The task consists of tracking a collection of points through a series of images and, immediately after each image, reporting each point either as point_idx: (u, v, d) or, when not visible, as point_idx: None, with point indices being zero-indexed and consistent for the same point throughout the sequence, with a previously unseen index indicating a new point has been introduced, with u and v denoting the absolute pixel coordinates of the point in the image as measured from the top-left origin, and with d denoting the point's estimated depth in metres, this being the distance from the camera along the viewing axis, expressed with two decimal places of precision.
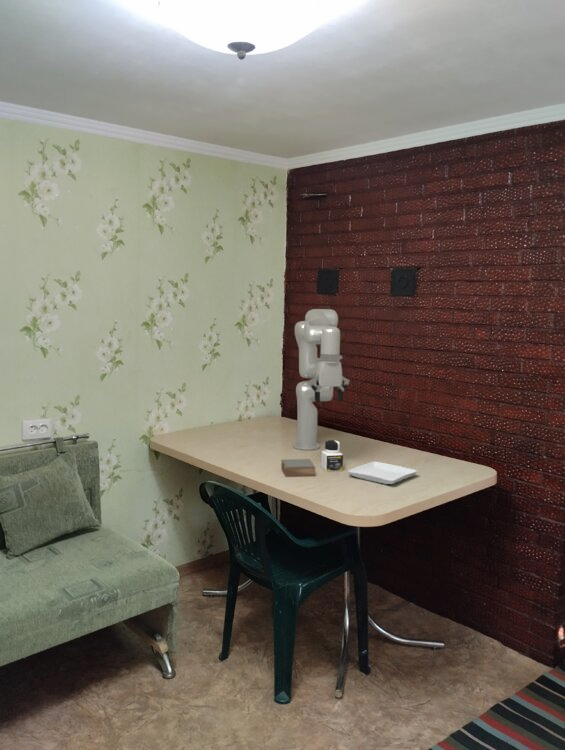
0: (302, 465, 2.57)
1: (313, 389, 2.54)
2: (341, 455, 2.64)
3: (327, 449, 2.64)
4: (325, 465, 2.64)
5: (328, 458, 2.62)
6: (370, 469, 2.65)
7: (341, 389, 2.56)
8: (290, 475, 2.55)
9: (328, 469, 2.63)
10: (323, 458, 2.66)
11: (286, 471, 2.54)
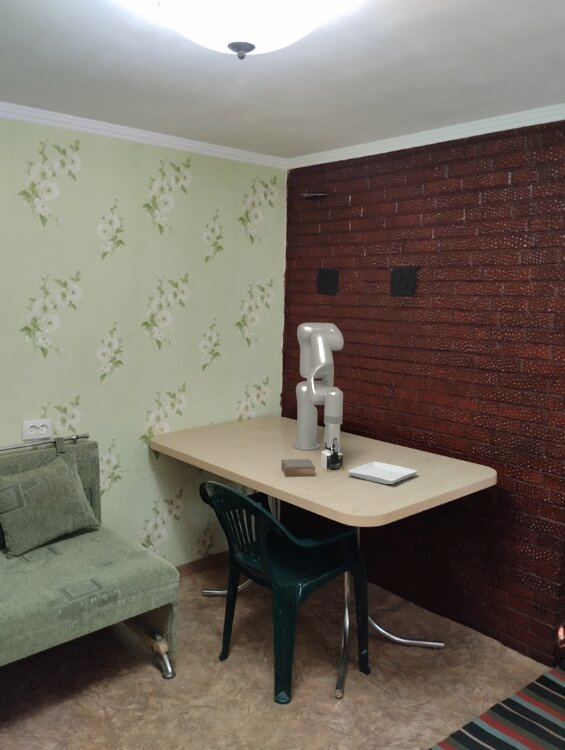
0: (302, 465, 2.57)
1: (335, 453, 2.60)
2: (341, 455, 2.64)
3: (327, 449, 2.64)
4: (325, 465, 2.64)
5: (328, 458, 2.62)
6: (370, 469, 2.65)
7: None
8: (290, 475, 2.55)
9: (328, 469, 2.63)
10: (323, 458, 2.66)
11: (286, 471, 2.54)
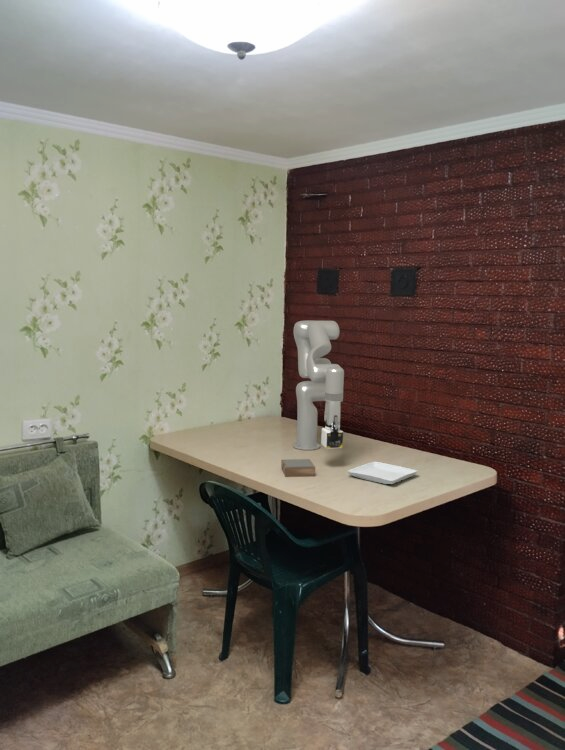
0: (302, 465, 2.57)
1: (335, 430, 2.60)
2: (341, 432, 2.63)
3: (327, 426, 2.64)
4: (325, 442, 2.63)
5: (328, 436, 2.62)
6: (370, 469, 2.65)
7: None
8: (290, 475, 2.55)
9: (328, 446, 2.63)
10: (324, 435, 2.65)
11: (286, 471, 2.54)
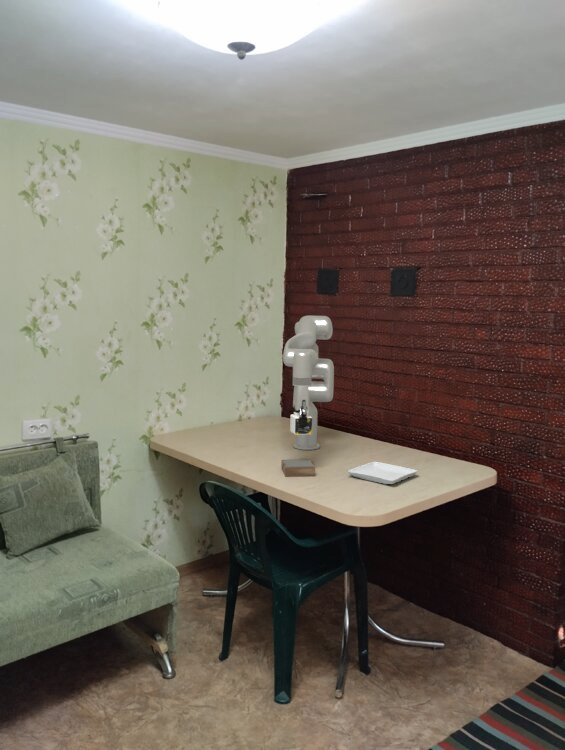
0: (302, 465, 2.57)
1: (303, 415, 2.53)
2: (310, 418, 2.56)
3: (296, 412, 2.56)
4: (294, 428, 2.56)
5: (296, 421, 2.55)
6: (370, 469, 2.65)
7: None
8: (290, 475, 2.55)
9: (297, 432, 2.55)
10: (292, 421, 2.58)
11: (286, 471, 2.54)
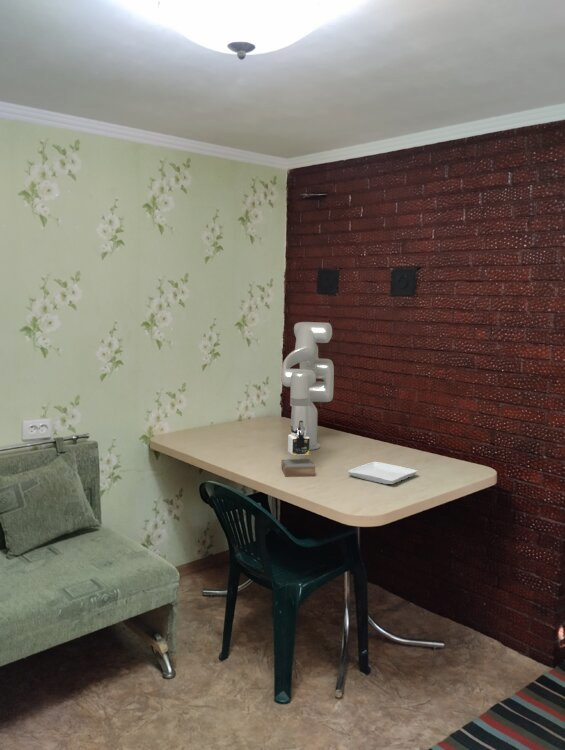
0: (302, 465, 2.57)
1: (301, 436, 2.53)
2: (307, 438, 2.57)
3: (293, 432, 2.57)
4: (291, 449, 2.57)
5: (294, 442, 2.55)
6: (370, 469, 2.65)
7: None
8: (290, 475, 2.55)
9: (294, 453, 2.56)
10: (290, 441, 2.59)
11: (286, 471, 2.54)
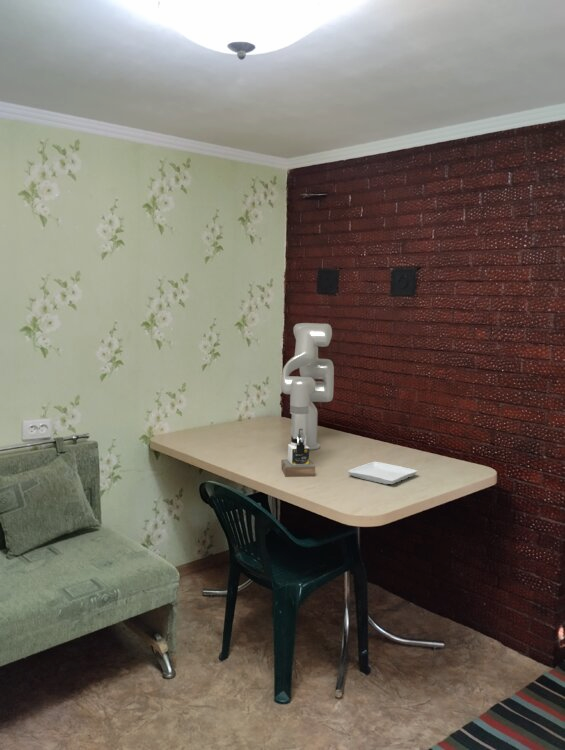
0: (302, 465, 2.57)
1: (301, 443, 2.53)
2: (307, 448, 2.57)
3: (293, 442, 2.58)
4: (291, 459, 2.58)
5: (293, 452, 2.56)
6: (370, 469, 2.65)
7: None
8: (290, 475, 2.55)
9: (294, 463, 2.57)
10: (290, 451, 2.59)
11: (286, 471, 2.54)
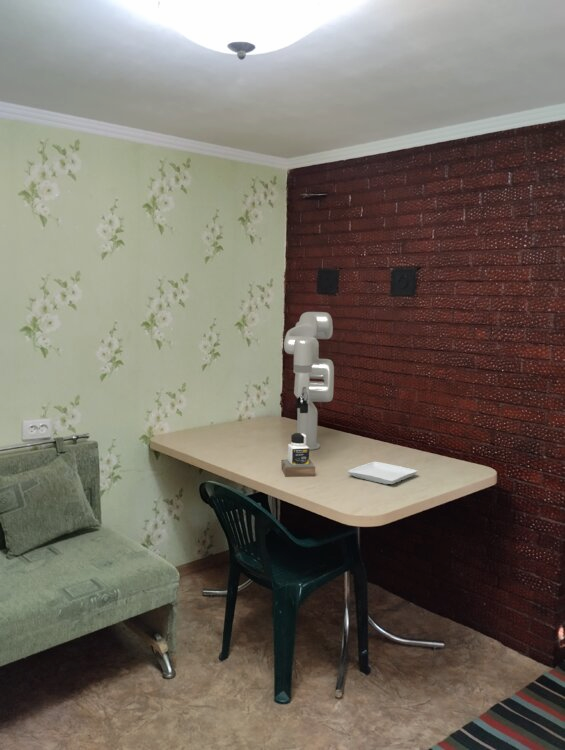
0: (302, 465, 2.57)
1: (304, 402, 2.54)
2: (307, 448, 2.57)
3: (293, 442, 2.58)
4: (291, 459, 2.58)
5: (293, 452, 2.56)
6: (370, 469, 2.65)
7: None
8: (290, 475, 2.55)
9: (294, 463, 2.57)
10: (290, 451, 2.59)
11: (286, 471, 2.54)
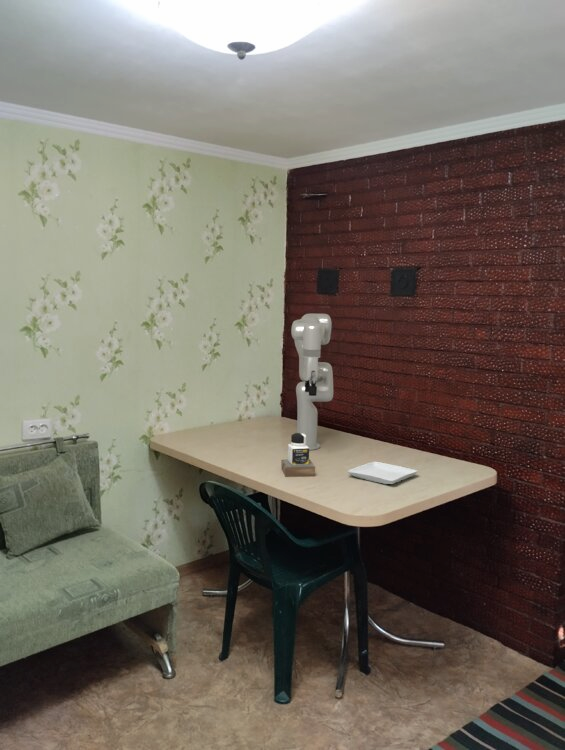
0: (302, 465, 2.57)
1: (313, 384, 2.65)
2: (307, 448, 2.57)
3: (293, 442, 2.58)
4: (291, 459, 2.58)
5: (293, 452, 2.56)
6: (370, 469, 2.65)
7: None
8: (290, 475, 2.55)
9: (294, 463, 2.57)
10: (290, 451, 2.59)
11: (286, 471, 2.54)
